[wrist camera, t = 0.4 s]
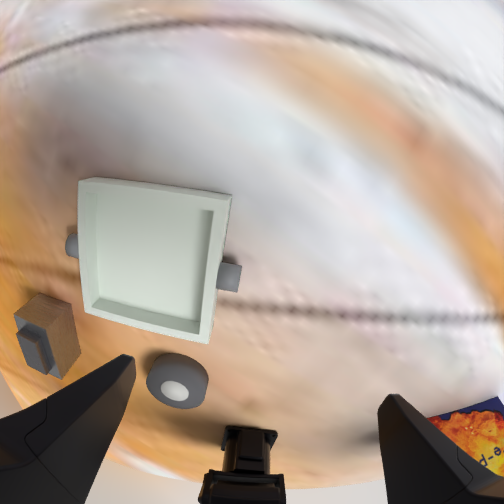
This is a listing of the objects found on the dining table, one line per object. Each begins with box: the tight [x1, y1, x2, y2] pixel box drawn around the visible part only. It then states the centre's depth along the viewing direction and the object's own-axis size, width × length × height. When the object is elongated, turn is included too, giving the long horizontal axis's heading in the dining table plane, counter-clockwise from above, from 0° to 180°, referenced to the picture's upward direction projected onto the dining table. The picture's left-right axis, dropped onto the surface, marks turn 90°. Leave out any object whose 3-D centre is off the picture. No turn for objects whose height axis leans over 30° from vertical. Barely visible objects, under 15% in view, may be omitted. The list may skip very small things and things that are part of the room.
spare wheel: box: [146, 353, 209, 409], centre depth 25 cm, size 6×6×3 cm
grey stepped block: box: [14, 293, 81, 380], centre depth 23 cm, size 7×5×6 cm
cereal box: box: [427, 396, 504, 477], centre depth 16 cm, size 22×6×30 cm, turn 86°
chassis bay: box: [65, 177, 242, 344], centre depth 21 cm, size 12×15×2 cm
